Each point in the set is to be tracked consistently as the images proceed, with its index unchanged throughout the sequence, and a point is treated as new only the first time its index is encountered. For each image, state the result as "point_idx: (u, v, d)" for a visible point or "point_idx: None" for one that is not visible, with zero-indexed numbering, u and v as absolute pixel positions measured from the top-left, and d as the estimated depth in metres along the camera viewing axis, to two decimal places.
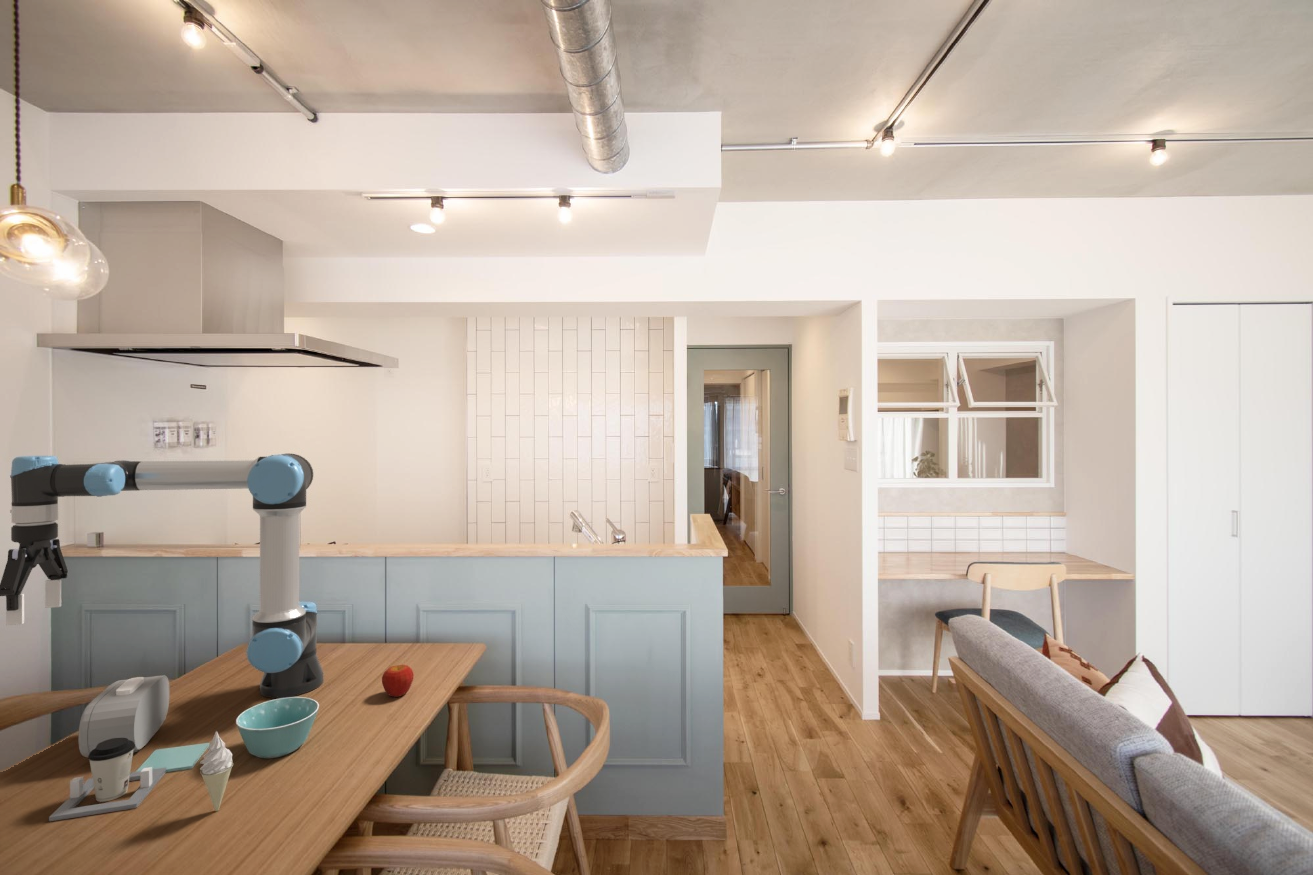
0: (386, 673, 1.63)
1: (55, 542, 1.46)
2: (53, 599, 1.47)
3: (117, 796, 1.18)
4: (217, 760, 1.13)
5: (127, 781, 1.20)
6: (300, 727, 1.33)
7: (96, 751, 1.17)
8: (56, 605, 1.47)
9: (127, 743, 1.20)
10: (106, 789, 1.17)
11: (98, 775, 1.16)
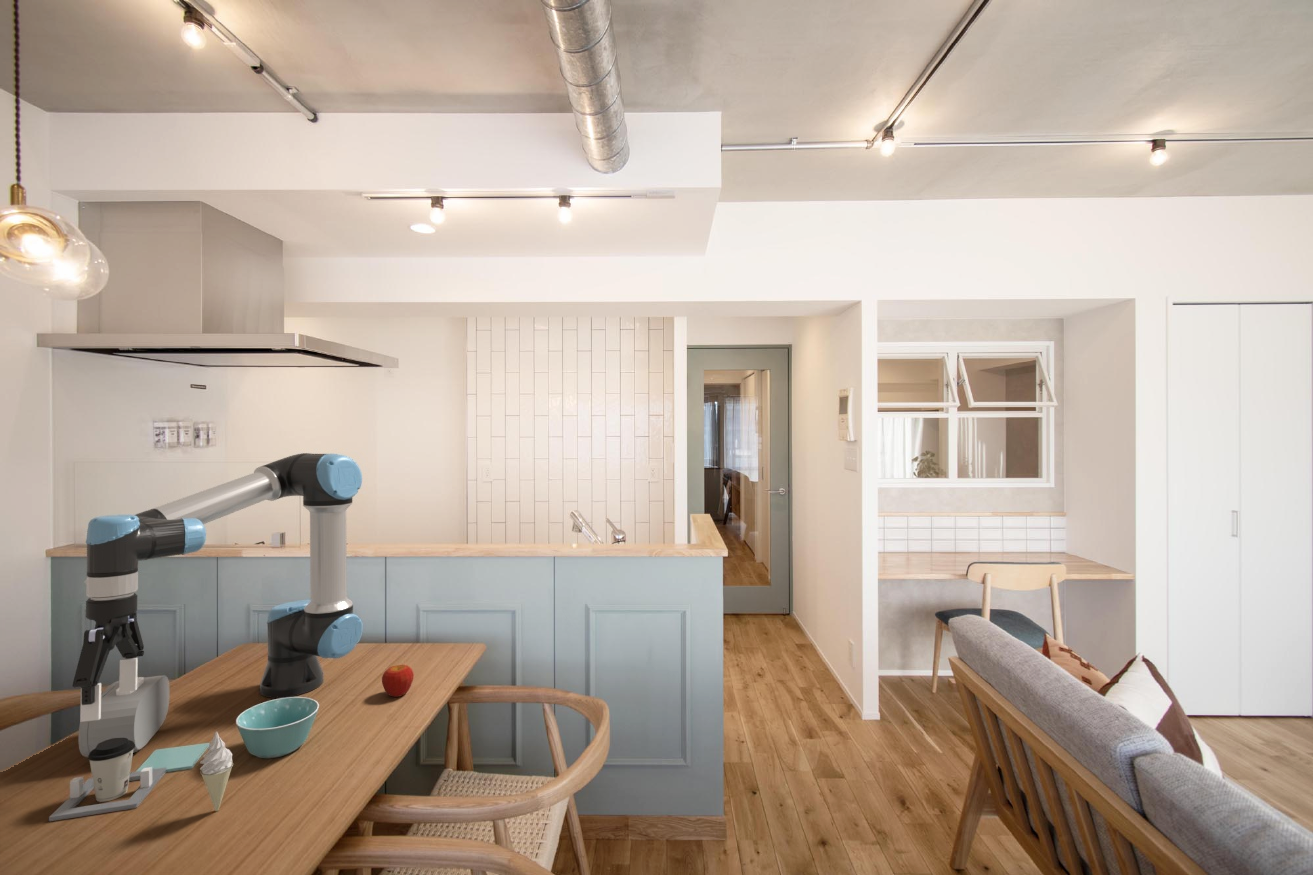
0: (386, 673, 1.63)
1: (132, 615, 1.25)
2: (128, 681, 1.25)
3: (117, 796, 1.18)
4: (217, 760, 1.13)
5: (127, 781, 1.20)
6: (300, 727, 1.33)
7: (96, 751, 1.17)
8: (131, 688, 1.25)
9: (127, 743, 1.20)
10: (106, 789, 1.17)
11: (98, 775, 1.16)
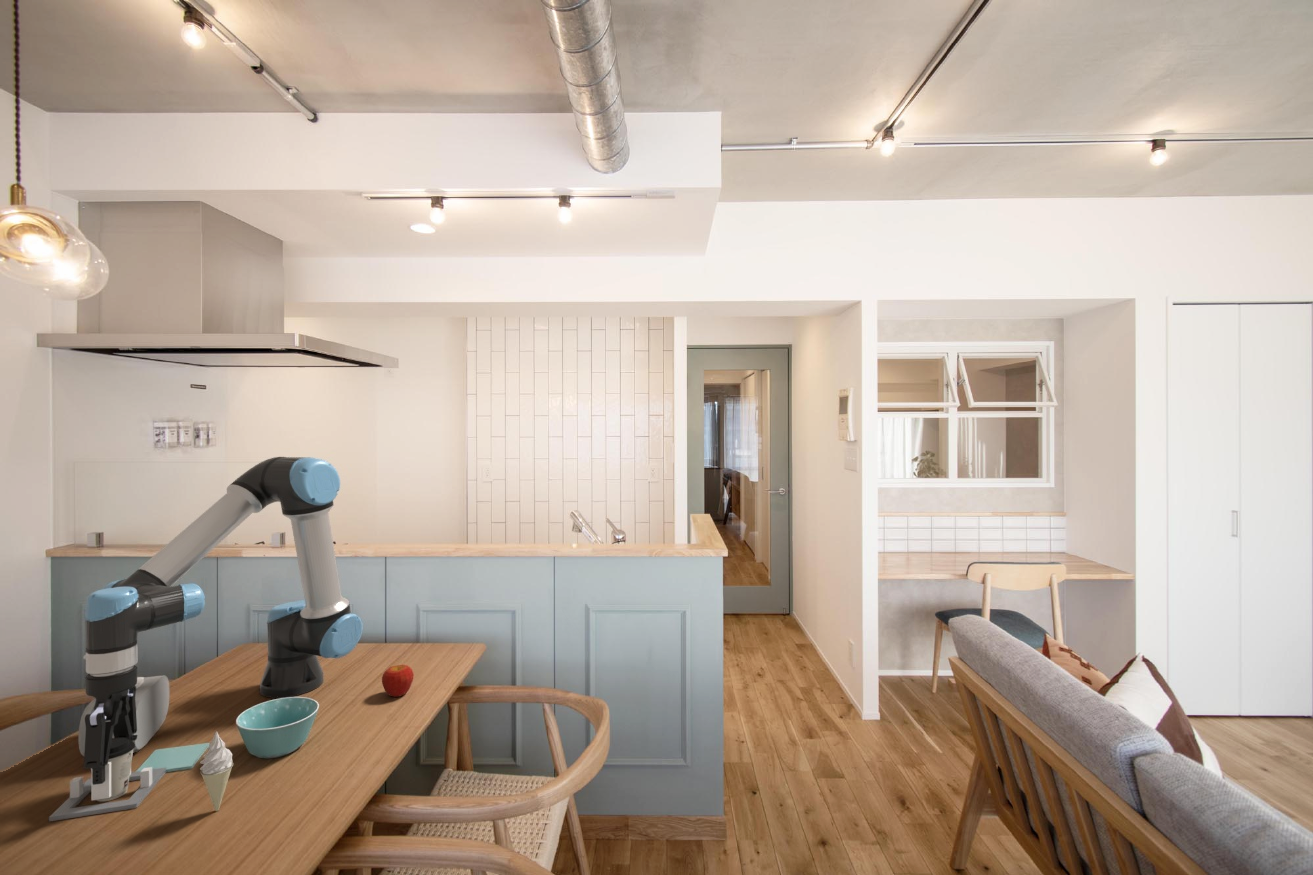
0: (386, 673, 1.63)
1: (132, 689, 1.24)
2: None
3: (117, 796, 1.18)
4: (217, 760, 1.13)
5: (127, 781, 1.20)
6: (300, 727, 1.33)
7: None
8: None
9: (127, 743, 1.20)
10: None
11: None
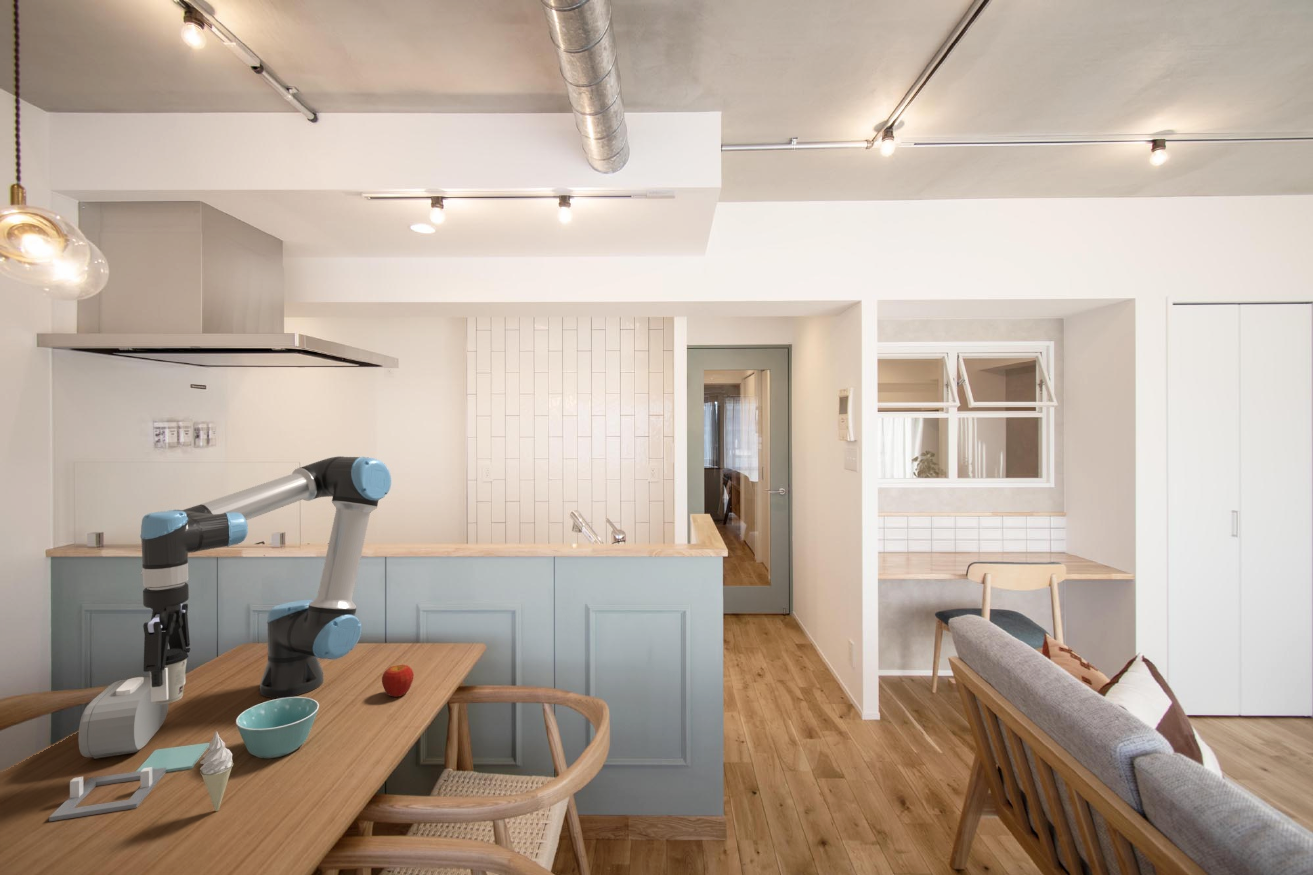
0: (386, 673, 1.63)
1: (184, 606, 1.35)
2: None
3: (173, 700, 1.29)
4: (217, 760, 1.13)
5: (182, 687, 1.30)
6: (300, 727, 1.33)
7: None
8: None
9: (181, 653, 1.30)
10: None
11: None
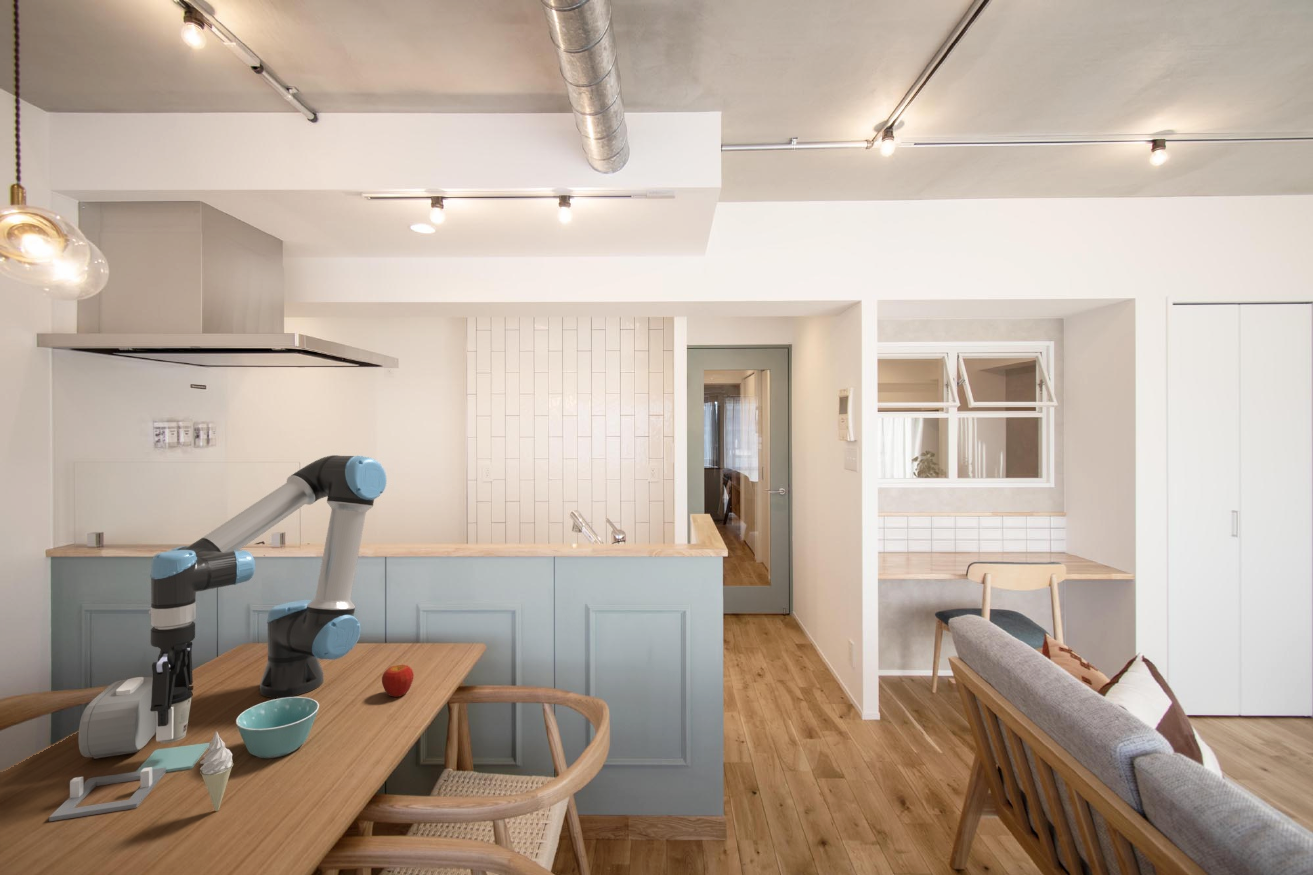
0: (386, 673, 1.63)
1: (189, 644, 1.37)
2: None
3: (177, 739, 1.30)
4: (217, 760, 1.13)
5: (186, 726, 1.32)
6: (300, 727, 1.33)
7: None
8: None
9: (186, 691, 1.32)
10: None
11: None
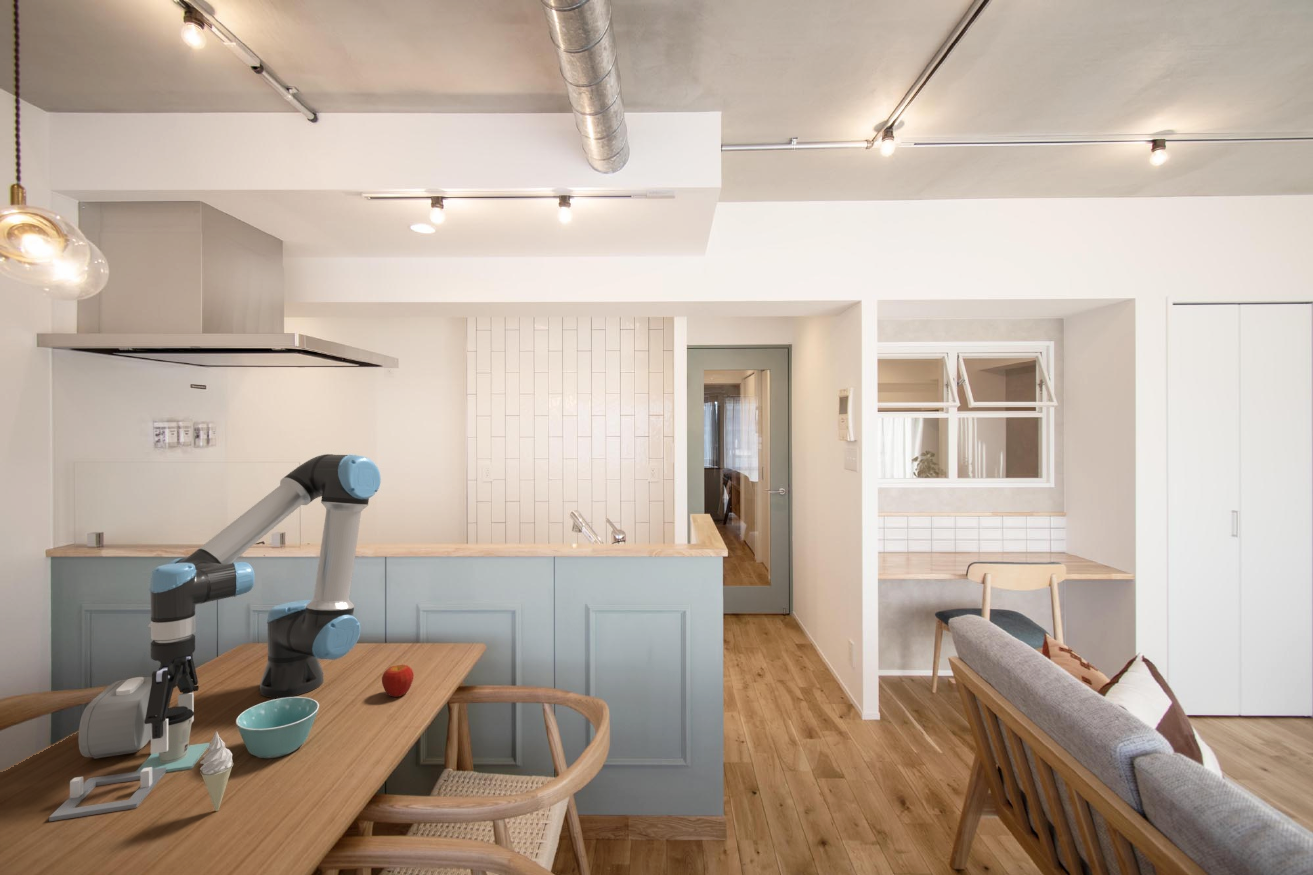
0: (386, 673, 1.63)
1: None
2: None
3: (178, 758, 1.30)
4: (217, 760, 1.13)
5: (187, 745, 1.32)
6: (300, 727, 1.33)
7: None
8: None
9: (187, 711, 1.32)
10: (169, 752, 1.29)
11: None
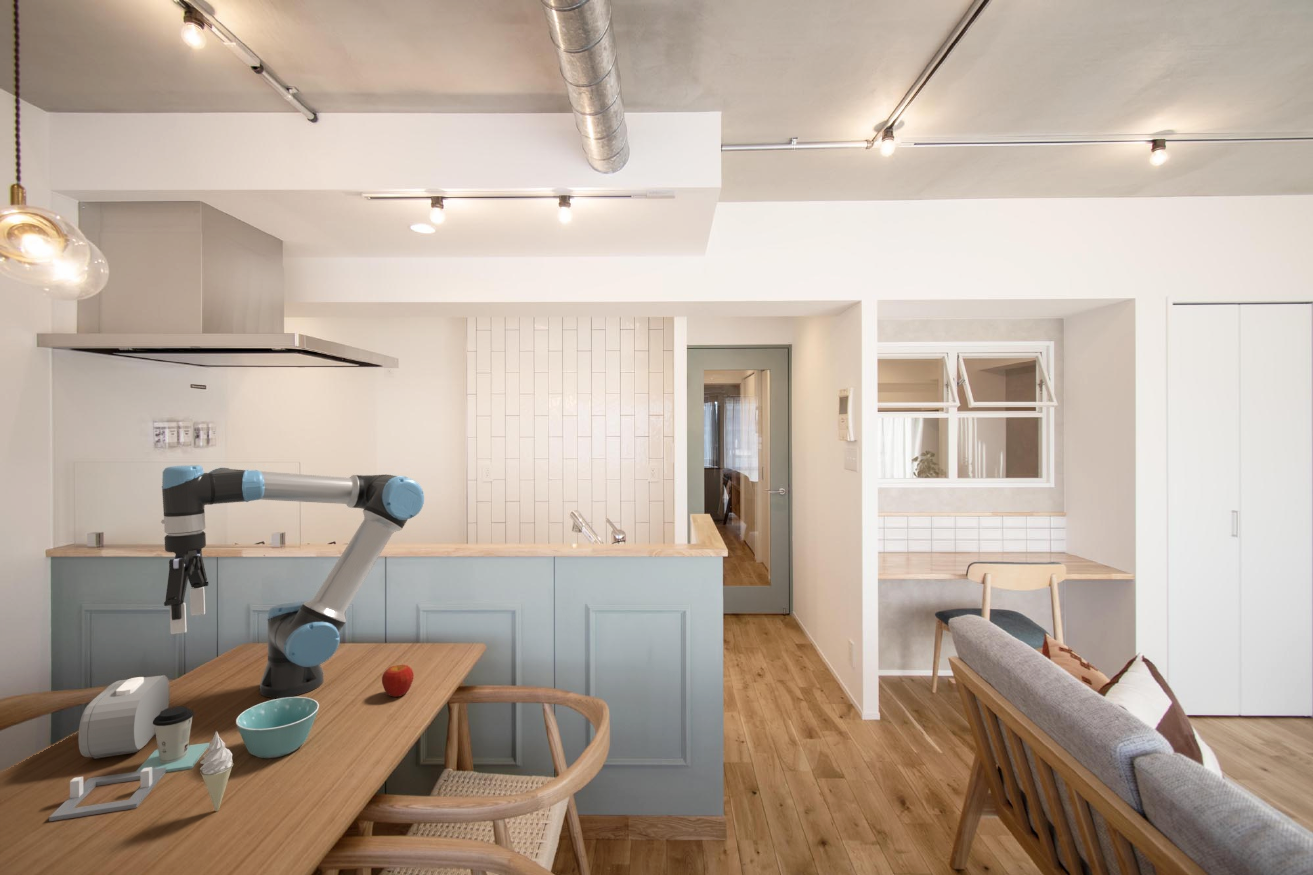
0: (386, 673, 1.63)
1: (198, 551, 1.47)
2: (198, 607, 1.48)
3: (178, 758, 1.30)
4: (217, 760, 1.13)
5: (187, 745, 1.32)
6: (300, 727, 1.33)
7: (160, 717, 1.29)
8: (201, 613, 1.48)
9: (187, 711, 1.32)
10: (169, 752, 1.29)
11: (162, 739, 1.28)
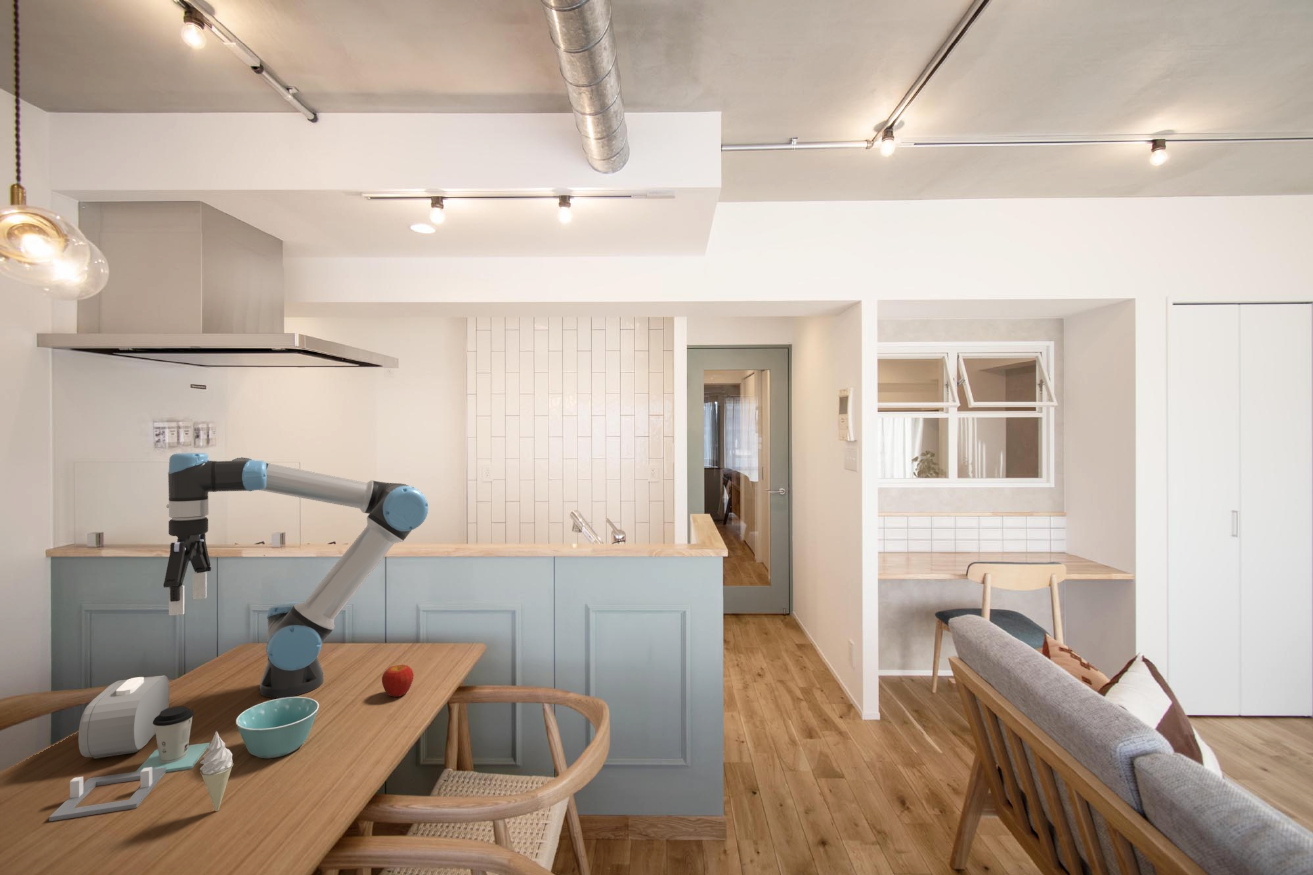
0: (386, 673, 1.63)
1: (202, 536, 1.51)
2: (200, 591, 1.52)
3: (178, 758, 1.30)
4: (217, 760, 1.13)
5: (187, 745, 1.32)
6: (300, 727, 1.34)
7: (160, 717, 1.29)
8: (202, 597, 1.52)
9: (187, 711, 1.32)
10: (169, 752, 1.29)
11: (162, 739, 1.28)
